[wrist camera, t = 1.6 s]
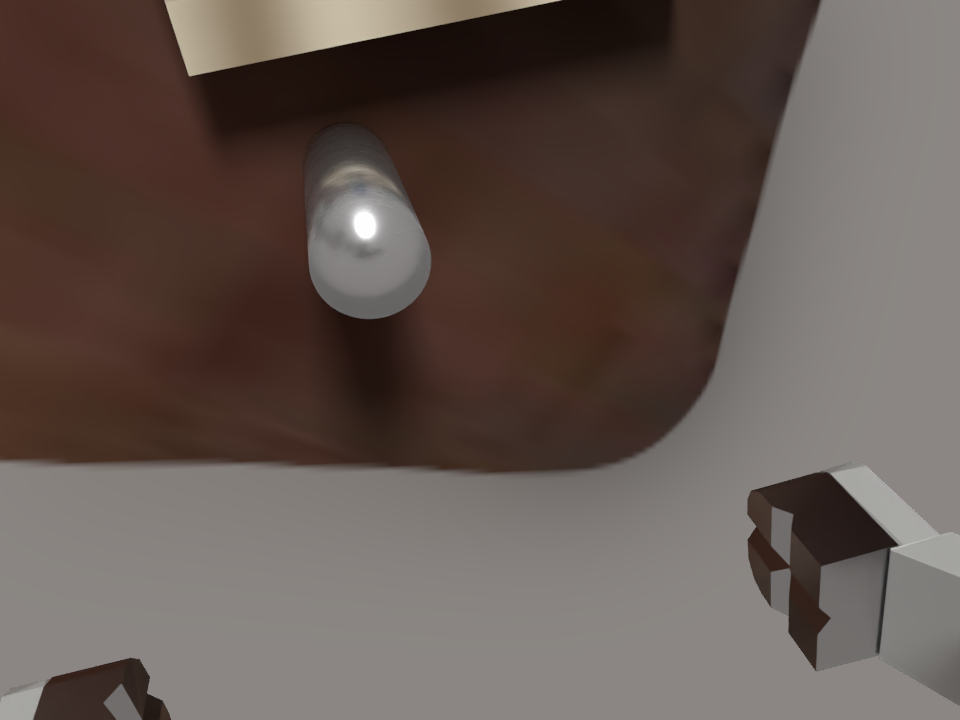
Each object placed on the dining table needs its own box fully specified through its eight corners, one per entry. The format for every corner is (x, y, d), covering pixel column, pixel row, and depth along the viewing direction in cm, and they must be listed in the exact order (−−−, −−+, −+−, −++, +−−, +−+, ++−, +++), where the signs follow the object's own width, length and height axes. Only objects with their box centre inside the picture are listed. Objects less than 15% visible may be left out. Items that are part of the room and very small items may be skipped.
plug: (315, 216, 31) (326, 331, 23) (292, 132, 30) (294, 219, 21) (398, 198, 32) (441, 303, 23) (380, 113, 30) (418, 192, 21)
